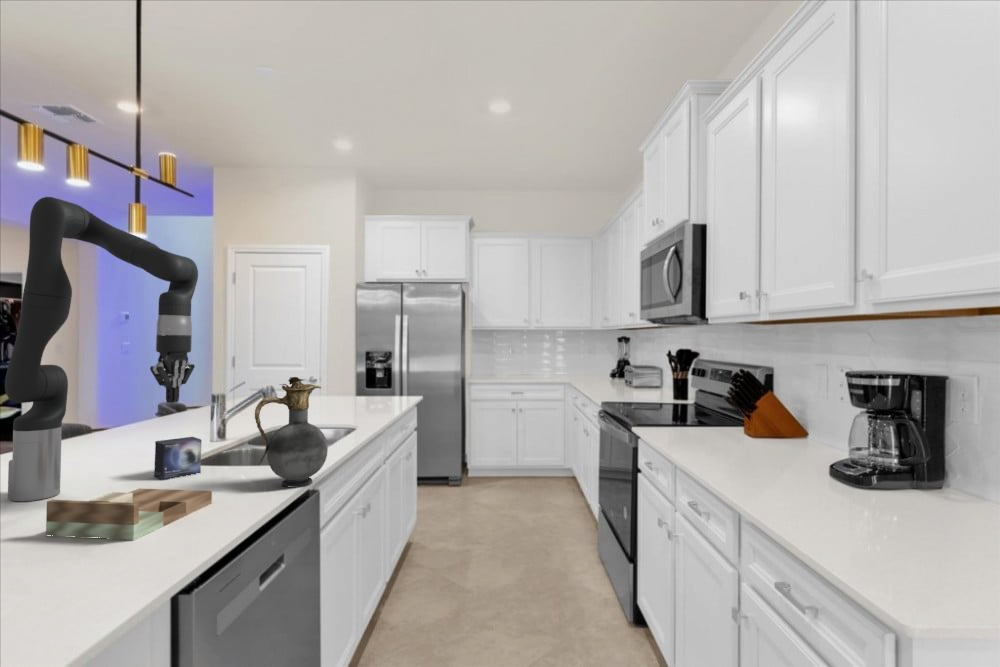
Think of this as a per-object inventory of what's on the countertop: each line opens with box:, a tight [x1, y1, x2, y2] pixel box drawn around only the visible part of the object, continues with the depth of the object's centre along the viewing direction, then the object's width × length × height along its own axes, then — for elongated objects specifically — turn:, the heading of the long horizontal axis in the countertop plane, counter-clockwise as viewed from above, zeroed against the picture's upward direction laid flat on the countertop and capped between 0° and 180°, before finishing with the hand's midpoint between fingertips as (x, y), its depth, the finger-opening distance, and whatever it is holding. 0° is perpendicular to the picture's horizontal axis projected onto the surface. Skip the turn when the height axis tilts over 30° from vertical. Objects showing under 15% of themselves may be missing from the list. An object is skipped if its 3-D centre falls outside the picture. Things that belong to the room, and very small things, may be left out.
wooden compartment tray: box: [45, 487, 213, 541], centre depth 116 cm, size 19×24×7 cm
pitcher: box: [254, 376, 329, 487], centre depth 144 cm, size 11×19×30 cm, turn 126°
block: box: [88, 491, 133, 503], centre depth 108 cm, size 4×6×4 cm
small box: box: [153, 436, 203, 481], centre depth 153 cm, size 11×6×10 cm, turn 143°
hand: (172, 402), depth 131 cm, fingers closed
